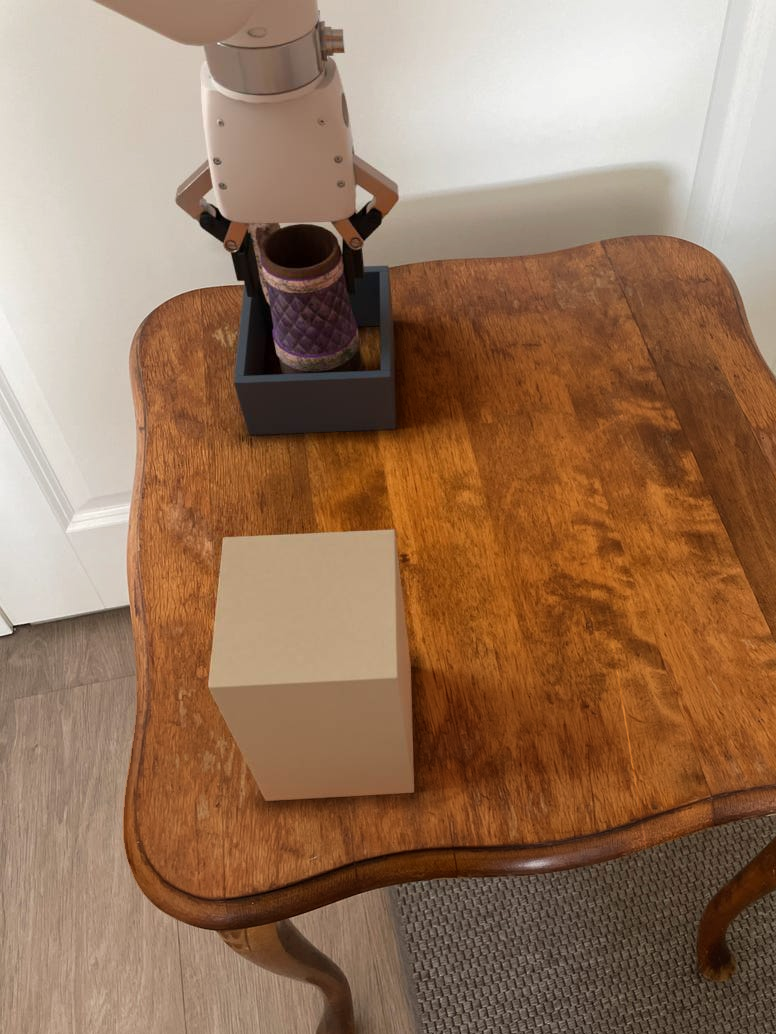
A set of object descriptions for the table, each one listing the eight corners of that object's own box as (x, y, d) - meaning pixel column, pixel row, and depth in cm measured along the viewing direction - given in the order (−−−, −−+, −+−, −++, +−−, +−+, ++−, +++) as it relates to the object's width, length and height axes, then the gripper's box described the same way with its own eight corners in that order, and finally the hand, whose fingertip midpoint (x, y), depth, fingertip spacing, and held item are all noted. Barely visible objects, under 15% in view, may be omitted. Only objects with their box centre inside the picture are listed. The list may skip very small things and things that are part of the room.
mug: (379, 371, 80) (363, 245, 70) (309, 407, 78) (283, 283, 68) (313, 311, 85) (290, 185, 75) (246, 344, 82) (212, 218, 72)
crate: (248, 435, 80) (233, 382, 75) (258, 325, 87) (245, 270, 82) (395, 429, 81) (390, 376, 76) (393, 320, 88) (388, 265, 83)
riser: (265, 801, 63) (207, 687, 49) (273, 672, 68) (222, 536, 54) (414, 793, 63) (397, 677, 50) (410, 665, 68) (395, 528, 55)
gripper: (398, 20, 63) (409, 253, 78) (135, 23, 62) (198, 258, 77) (400, 79, 59) (412, 312, 74) (119, 82, 58) (188, 318, 73)
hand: (302, 283), depth 75 cm, fingers closed on mug, 7 cm apart
